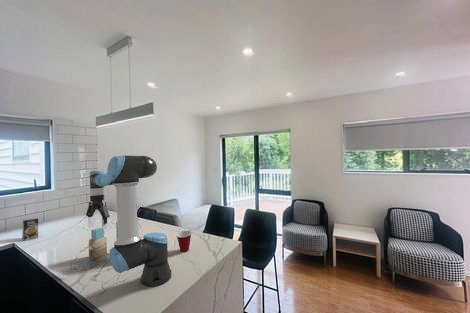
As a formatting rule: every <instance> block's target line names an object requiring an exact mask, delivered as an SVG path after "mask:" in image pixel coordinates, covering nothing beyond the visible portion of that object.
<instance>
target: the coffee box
mask: <svg viewBox="0 0 470 313" xmlns="http://www.w3.org/2000/svg"><path fill="white" fill-rule="evenodd" d="M21 233H22V235H21V236H22V238H21V239H22V241H23V242H26V241H31V240H35V239H39V218H30V219H23V220H22V232H21Z"/></svg>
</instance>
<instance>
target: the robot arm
mask: <svg viewBox="0 0 470 313" xmlns="http://www.w3.org/2000/svg"><path fill="white" fill-rule="evenodd" d="M157 166H158V165H157V163H156V161H155V159H153V158H152V157H149V156H147V155H115V156H112V157H111V158H110V159H109V162H108V165H107V168H106V169H107V170H106V173H104V171H103V170H91V171H90V172H89V195H90V196H89V202H88V206H87V210H86V214H85V217H87V218H88V228H93V227H94V223H95V221H94V219H95V217H94V214H95V213H96V211H98V212H99V214H100V216H101V217H102V218H101V228H102V230H104V231H105V230H107V229H108V219H109V218H110V213H109V209H108V208H107V202H106V201H105V202H103V201H104V200H105V195H104V194H105V190H104V189H105V187H107V186H114V187H115V191H116V192H115V194H116V196H115V198H116V222H117V230H118V239H117V238H116V239H115V241H114V242H113V244H114V245H113V247H111V248H110V249H109V253H110V262H111V266H112V268H113V270H114V271H115V272H116V273H118V274H119V273H123V272H126V271H127V272H128V271H130V270H133V269H134V268H138V267H140V266H143V269H142V274H141V275H140V284H141V285H142V286H144V287H146V288H147V287H148V288H149V287H150V288H151V287H157V286H161V285H163V284H165V283H167V282H168V281H170V280H171V278H172V270H171V267H170V266H171V265H170V263H169V261H168V256H169V255H168V254H169V252H168V251H169V250H168V236H167V235H166V234H165V233H163V232H149V233H148V232H147V233H145V234H144V235H143V238H142V237H141V236H140V235H138V230H137V218H138V212H137V211H138V209H137V207H138V206H137V185H139V183H140V179H145V178H150V177H152V176H154V175H155V174H156V173H157V170H158V167H157Z"/></svg>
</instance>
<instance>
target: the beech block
mask: <svg viewBox="0 0 470 313" xmlns="http://www.w3.org/2000/svg"><path fill="white" fill-rule="evenodd" d="M107 242H108V240H107V237H106V236H104V238H102V239H99V240H92V239H91V238H89V239H88V251H89V250H93V251H97V250H100V249H102V248H105V247H107V248H108V246H107V244H108V243H107Z"/></svg>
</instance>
